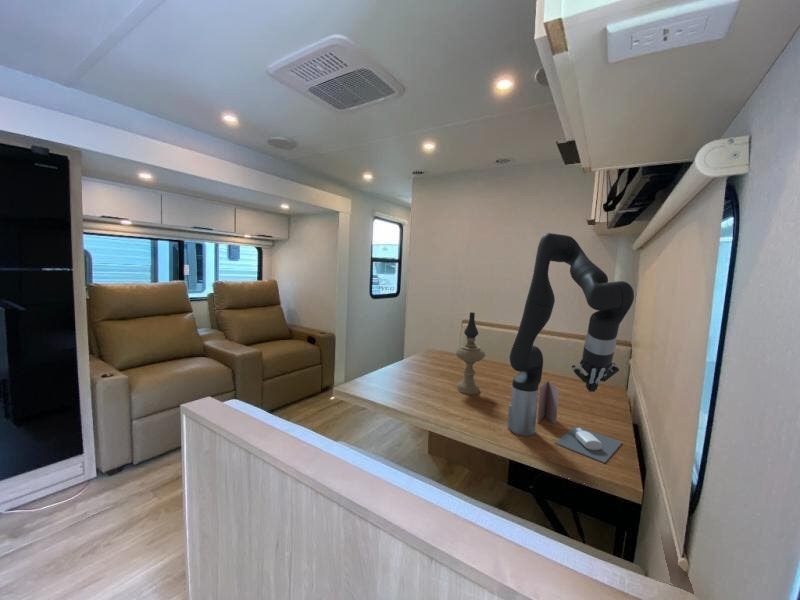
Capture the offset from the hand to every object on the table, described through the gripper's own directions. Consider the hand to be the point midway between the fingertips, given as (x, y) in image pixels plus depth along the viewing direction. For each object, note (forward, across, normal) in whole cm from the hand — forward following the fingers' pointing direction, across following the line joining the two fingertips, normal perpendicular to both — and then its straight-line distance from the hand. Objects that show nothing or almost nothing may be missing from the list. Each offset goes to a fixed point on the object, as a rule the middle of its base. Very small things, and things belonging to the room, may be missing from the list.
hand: (590, 389), depth 103 cm
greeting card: (+37, +4, -19) cm, 41 cm away
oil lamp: (+45, +34, -46) cm, 73 cm away
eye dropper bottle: (+26, -4, +1) cm, 26 cm away
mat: (+30, -5, -3) cm, 31 cm away
